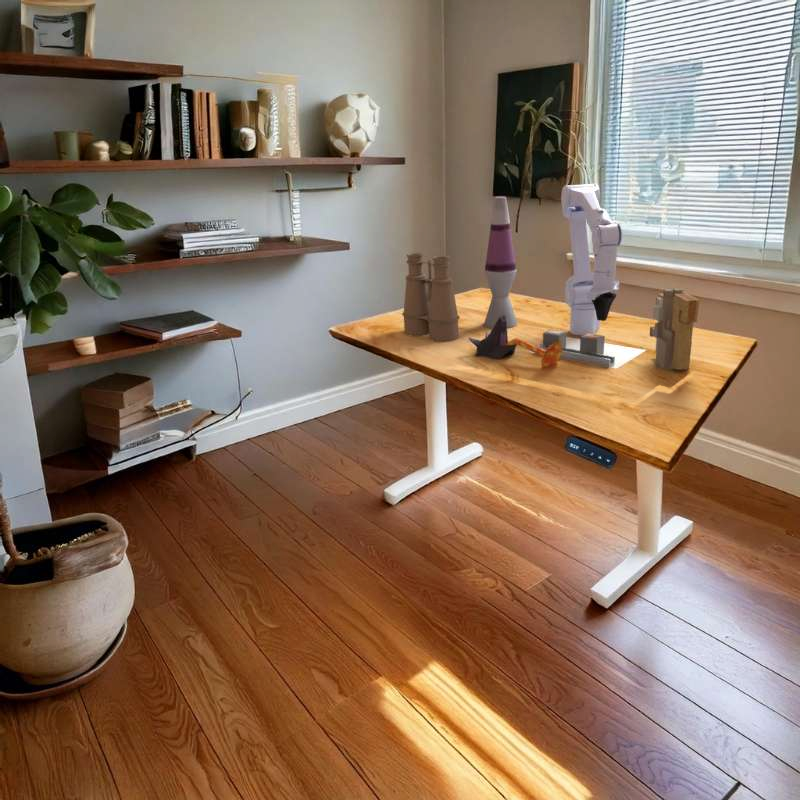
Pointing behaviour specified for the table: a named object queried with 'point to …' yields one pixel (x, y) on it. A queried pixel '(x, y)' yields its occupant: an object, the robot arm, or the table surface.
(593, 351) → the block
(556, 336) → the mounted module
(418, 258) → the binoculars
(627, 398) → the table surface
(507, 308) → the lamp
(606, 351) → the panel
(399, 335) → the table surface
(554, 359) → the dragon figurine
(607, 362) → the rail
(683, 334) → the toy
